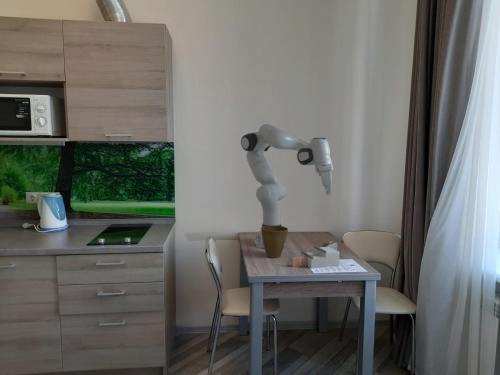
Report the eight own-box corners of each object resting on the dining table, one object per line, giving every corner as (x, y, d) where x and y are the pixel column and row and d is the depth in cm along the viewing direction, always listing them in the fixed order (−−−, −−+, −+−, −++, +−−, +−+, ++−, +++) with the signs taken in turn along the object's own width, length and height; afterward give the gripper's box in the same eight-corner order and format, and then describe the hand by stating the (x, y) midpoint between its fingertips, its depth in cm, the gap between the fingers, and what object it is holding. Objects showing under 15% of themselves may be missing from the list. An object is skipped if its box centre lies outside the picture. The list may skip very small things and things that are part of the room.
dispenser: (301, 261, 179) (301, 246, 178) (327, 259, 184) (328, 244, 183) (311, 268, 168) (311, 252, 167) (339, 265, 173) (339, 249, 172)
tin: (333, 252, 196) (334, 238, 195) (338, 253, 194) (339, 239, 193) (320, 258, 185) (320, 243, 184) (325, 259, 183) (325, 244, 182)
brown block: (291, 266, 172) (291, 257, 171) (314, 263, 176) (314, 255, 175) (292, 267, 170) (292, 258, 170) (315, 264, 174) (315, 256, 174)
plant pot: (265, 261, 179) (266, 231, 177) (257, 253, 193) (257, 226, 192) (291, 259, 183) (292, 230, 182) (281, 251, 197) (282, 224, 196)
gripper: (317, 170, 183) (321, 195, 183) (318, 168, 163) (323, 196, 162) (329, 168, 182) (333, 193, 181) (331, 166, 162) (336, 194, 161)
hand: (328, 195), depth 172 cm, fingers open, 8 cm apart
